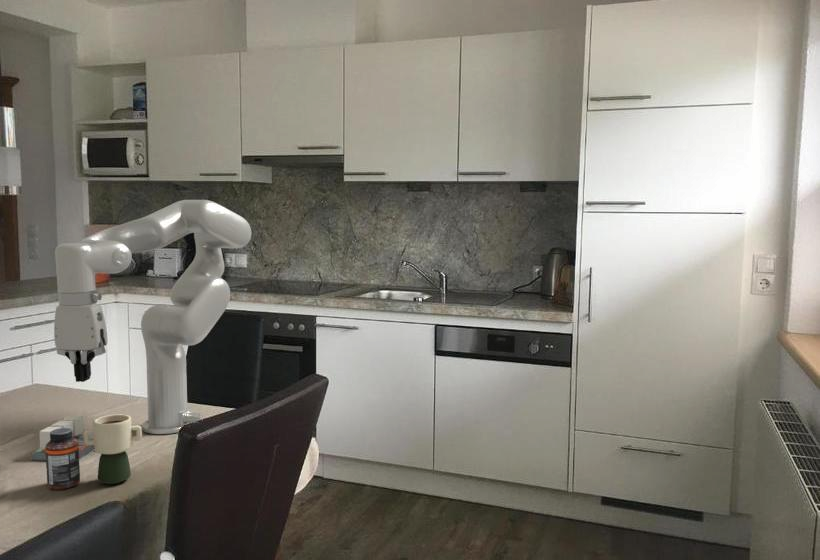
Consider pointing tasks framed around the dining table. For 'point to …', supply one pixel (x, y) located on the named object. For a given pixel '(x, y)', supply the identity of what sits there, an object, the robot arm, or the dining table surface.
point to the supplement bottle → (62, 460)
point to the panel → (83, 449)
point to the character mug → (113, 446)
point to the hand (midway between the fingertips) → (83, 380)
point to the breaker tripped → (46, 436)
